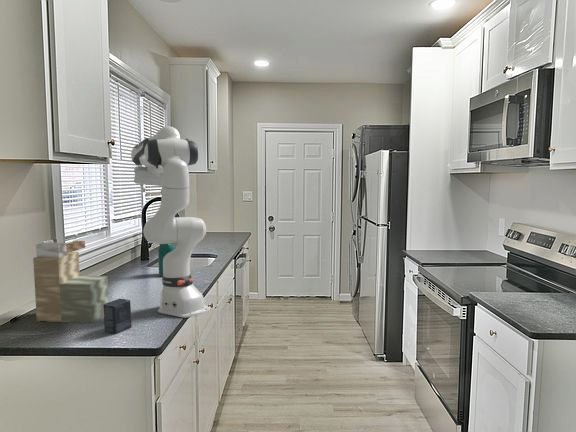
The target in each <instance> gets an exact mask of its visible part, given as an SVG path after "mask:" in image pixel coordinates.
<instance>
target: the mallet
mask: <svg viewBox="0 0 576 432" xmlns="http://www.w3.org/2000/svg"><path fill="white" fill-rule="evenodd" d="M35 247H36V248H35V250H36V252H35V253H36V257H43V258H60V257H63V256H66V255H67V253H70V252H77V251H79V250H82V249H85V248H86V240H75V241H74V240H73V241H71V242H67V243H66V242H41V243H37V244H35Z"/></svg>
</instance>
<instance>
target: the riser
mask: <svg viewBox="0 0 576 432" xmlns="http://www.w3.org/2000/svg"><path fill="white" fill-rule="evenodd" d="M32 260H33V261H32V262H33V276H34V277H33V280H34V294H35V295H34V296H35V315H36V322H40V321H47V322H46V323H49V322H51V323H81V324H82V323H85V324H90V323H93V322H95V321H97V320H98V319H99V318H101V317H102V316H103V317H104V306H103V304H106V303H109V302H110V301H109V282H108V281H109V280H108V277H109V276H108V275H80V274H81V273H80V254H79V251H73V252H70V253H67V255H66V256H63V257H60V258H43V257H37V256H35V257H33V258H32Z"/></svg>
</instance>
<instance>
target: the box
mask: <svg viewBox="0 0 576 432" xmlns="http://www.w3.org/2000/svg"><path fill="white" fill-rule="evenodd" d="M103 306H104V315H103V321H104V323H103V324H104V332H105V333H108V334H112V333H113V335H118V334H119V333H122V332H124V331H126V330H129V329H130V328H132V312H131V311H132V307H131V299H125V298H118V299H115V300H112V301H109V303H106V304H103Z"/></svg>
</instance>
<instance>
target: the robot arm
mask: <svg viewBox="0 0 576 432" xmlns="http://www.w3.org/2000/svg"><path fill="white" fill-rule="evenodd" d="M130 153H131V154H130V157H131V161H132V163H134V164H135V165H136V166H135V167H134V170H133V172H134V176H133V182H134V183H135V184H136V185H137V184H139V185H140V187H141V190H142V193H146V188H145V187H144V185H149V186H157V187H161V190H160V195H161V197H160V198H161V199H160V206H159V207H158V210H157V211H156V213H155V214H154V215H153V216H152V217H151V218H150V219H148V220H147V221H146V223H144V226H143V237H144V238H145V240H146V241H147V242H148V243H150V244H157V245H160V244H177V246H175V247H176V249H175V250H173V251H171V252H169V253H168V254H166V255H165V257H164V258H163V276H162V277H161V283H162V290H161V292H160V301H159V308H158V310H157V313H159V314H163V315H167V316H174V317H177V318H192V317H193V318H194V317H197V316H200V315H204V314H206V313H208V312H209V311H210V310H211V307H209V306H208V305H206V304H205V298H204V296H203V293H202V292H200V291H199V290H198V288H197V287H196V286H195V285H194V281H195V280H194V279H195V278H194V277H192V275H191V257H192V253H193V251H194V249H195V248H196V246H197V244H198V243H200V242H201V241H202V240H203V239H204V238H205V236H206V233H207V225H206V222H205V221H204V220H203V219H202V218H200V217H193V216H180V217H179V216H177V217H176V215H177V214H178V213H179V212H180V211H183V210H184V209H186V208H187V207H188V206H189V204H190V192H191V191H190V173H189V167H188V166H193V165H196V164H197V162H198V160H199V157H200V149H199V146H198V144H197V143H196V142H195V141H193V140H190V139H189V138H187V137H186V138H183V139H182V138H181V135H180V132H179V131H178V129H177V128H175V127H173V126H171V125H170V126H169V125H166V126H163V127H162V128H160V129H158V131H157V132H156V133H155V134H154V135H152V136H151V137H150V136H149V137H148V138H144V139H143V140H141V141H140V142H139V144H135V146H133V147H132V149H131V152H130Z"/></svg>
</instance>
